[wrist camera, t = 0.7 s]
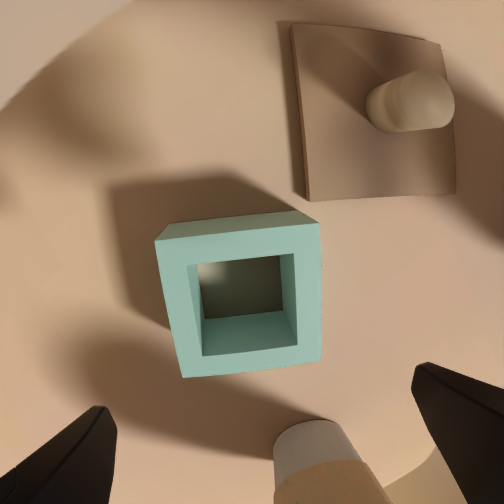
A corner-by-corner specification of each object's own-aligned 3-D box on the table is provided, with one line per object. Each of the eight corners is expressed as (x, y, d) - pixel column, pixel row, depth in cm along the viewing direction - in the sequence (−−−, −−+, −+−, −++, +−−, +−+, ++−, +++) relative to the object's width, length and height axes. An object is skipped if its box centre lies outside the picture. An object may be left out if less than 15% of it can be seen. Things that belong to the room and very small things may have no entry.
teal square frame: (298, 210, 17) (319, 223, 14) (303, 325, 19) (321, 360, 15) (169, 224, 17) (154, 240, 13) (188, 338, 19) (182, 377, 15)
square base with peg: (433, 47, 15) (482, 26, 10) (448, 192, 18) (503, 203, 13) (289, 29, 15) (313, -15, 10) (306, 200, 17) (339, 214, 12)
